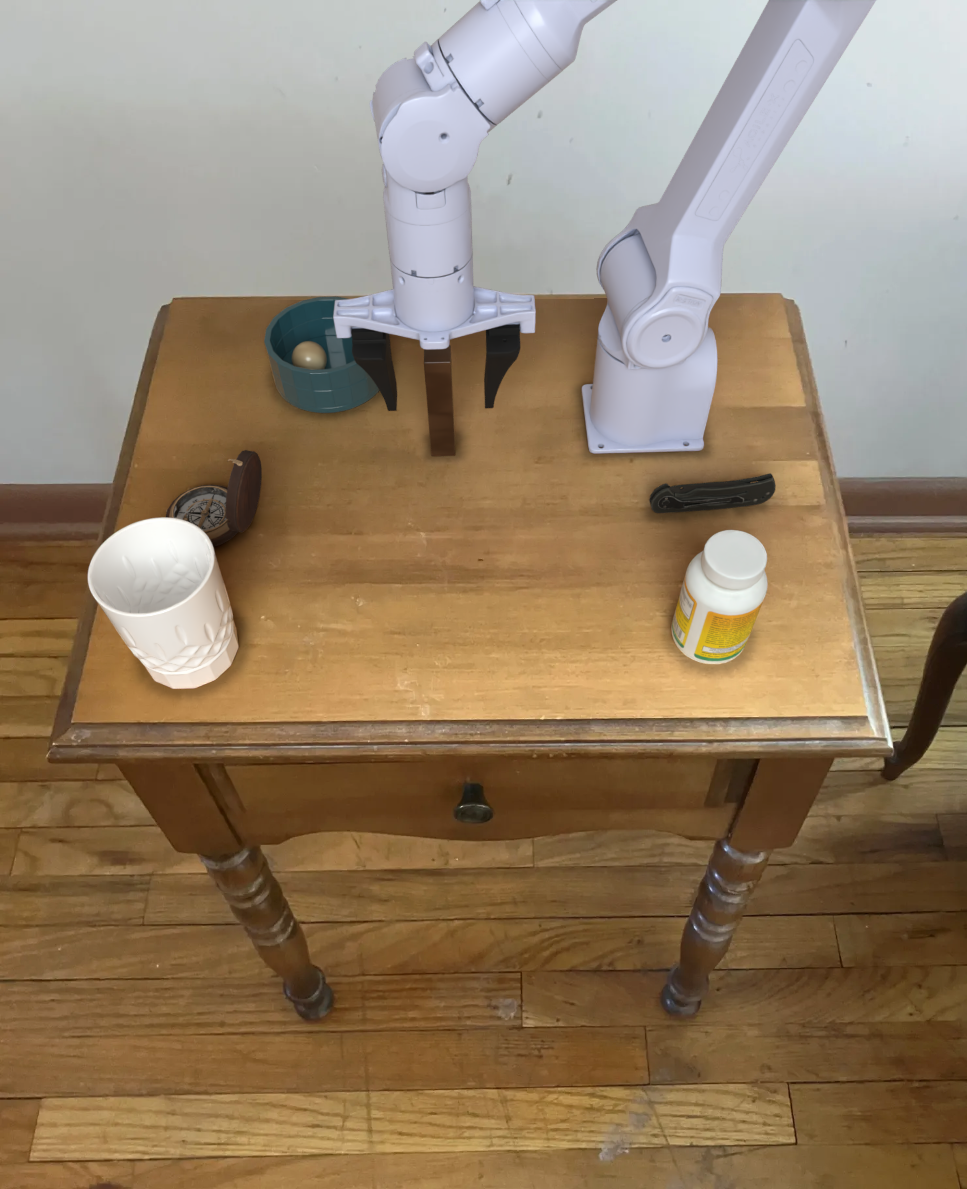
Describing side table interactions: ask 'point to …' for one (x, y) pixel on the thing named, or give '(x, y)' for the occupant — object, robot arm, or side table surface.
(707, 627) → the supplement bottle
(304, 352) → the bead
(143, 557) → the white cup
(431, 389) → the stirring stick
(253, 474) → the compass
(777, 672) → the side table surface
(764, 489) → the folding knife
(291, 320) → the bowl
